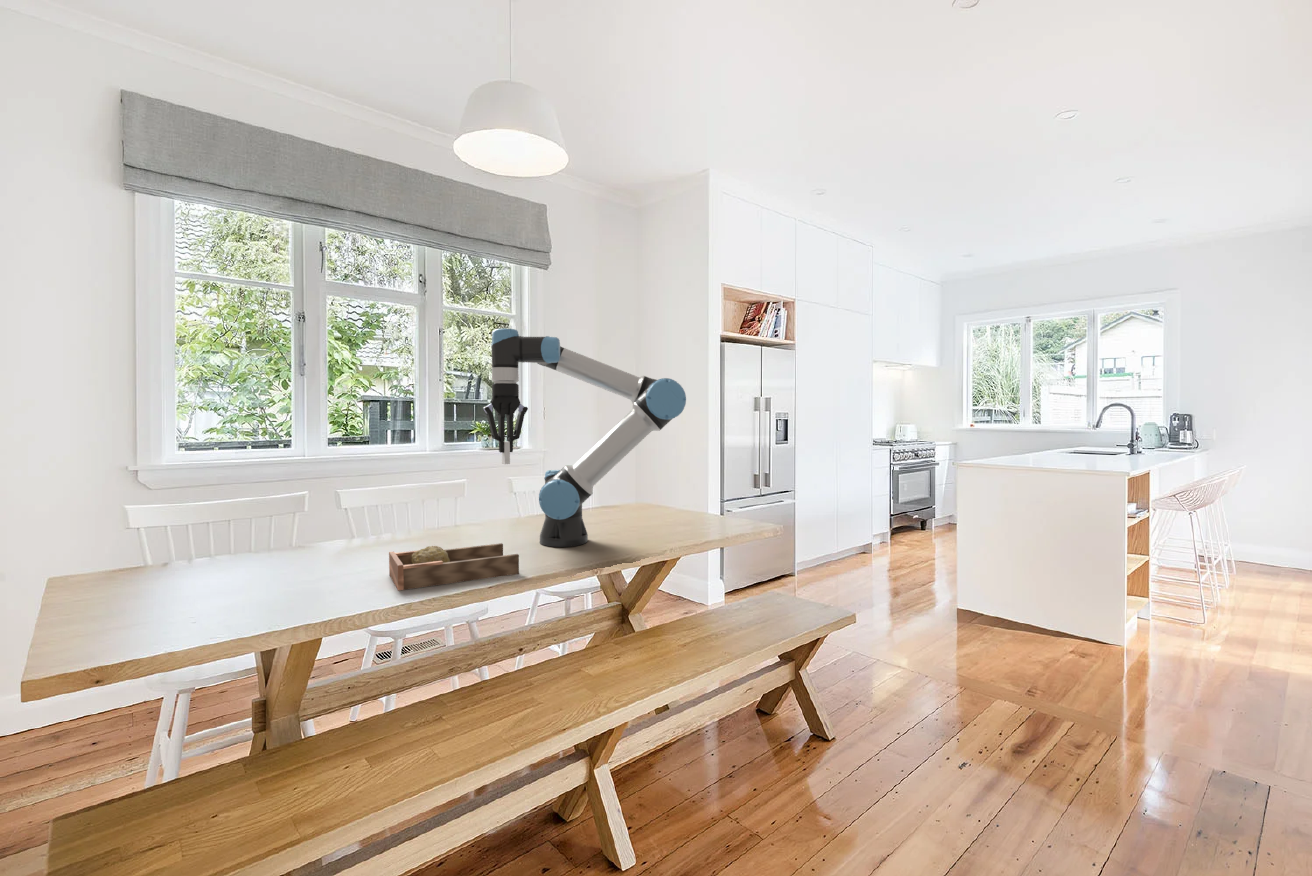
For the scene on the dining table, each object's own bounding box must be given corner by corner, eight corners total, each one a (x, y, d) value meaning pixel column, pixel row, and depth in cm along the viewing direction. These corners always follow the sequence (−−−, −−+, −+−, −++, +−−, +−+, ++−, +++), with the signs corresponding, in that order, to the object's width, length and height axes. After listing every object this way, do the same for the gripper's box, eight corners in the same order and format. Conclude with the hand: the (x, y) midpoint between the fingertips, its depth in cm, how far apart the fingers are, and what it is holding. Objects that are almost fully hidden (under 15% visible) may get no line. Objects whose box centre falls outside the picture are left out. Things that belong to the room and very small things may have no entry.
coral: (452, 580, 155) (452, 549, 155) (413, 584, 151) (412, 553, 151) (448, 571, 163) (448, 542, 163) (410, 574, 160) (410, 545, 159)
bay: (501, 560, 174) (501, 539, 174) (518, 573, 161) (518, 551, 161) (389, 575, 159) (388, 552, 159) (398, 590, 146) (397, 565, 146)
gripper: (522, 383, 187) (523, 461, 188) (479, 382, 180) (480, 463, 182) (531, 382, 180) (531, 463, 182) (486, 382, 174) (487, 466, 175)
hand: (506, 463), depth 182 cm, fingers closed
